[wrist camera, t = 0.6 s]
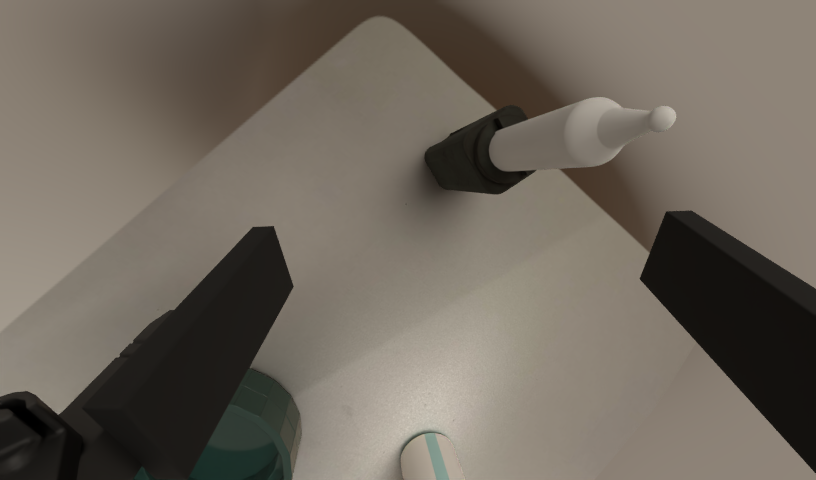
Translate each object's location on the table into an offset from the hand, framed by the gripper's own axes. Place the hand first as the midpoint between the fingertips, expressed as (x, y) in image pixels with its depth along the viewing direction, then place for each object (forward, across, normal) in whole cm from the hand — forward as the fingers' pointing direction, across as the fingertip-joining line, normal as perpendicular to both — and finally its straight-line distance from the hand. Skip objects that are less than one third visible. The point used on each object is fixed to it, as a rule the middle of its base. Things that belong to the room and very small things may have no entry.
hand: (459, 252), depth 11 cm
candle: (+25, +1, -5) cm, 26 cm away
